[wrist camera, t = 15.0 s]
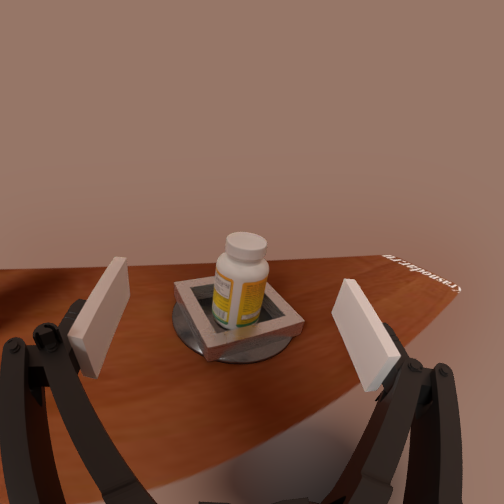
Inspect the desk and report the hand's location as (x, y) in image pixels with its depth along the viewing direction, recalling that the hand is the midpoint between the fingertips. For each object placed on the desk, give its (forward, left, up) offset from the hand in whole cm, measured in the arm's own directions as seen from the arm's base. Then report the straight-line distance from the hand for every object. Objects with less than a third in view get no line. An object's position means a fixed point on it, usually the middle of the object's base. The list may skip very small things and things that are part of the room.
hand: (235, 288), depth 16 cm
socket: (-10, +6, -12) cm, 16 cm away
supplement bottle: (-10, +6, -12) cm, 16 cm away
